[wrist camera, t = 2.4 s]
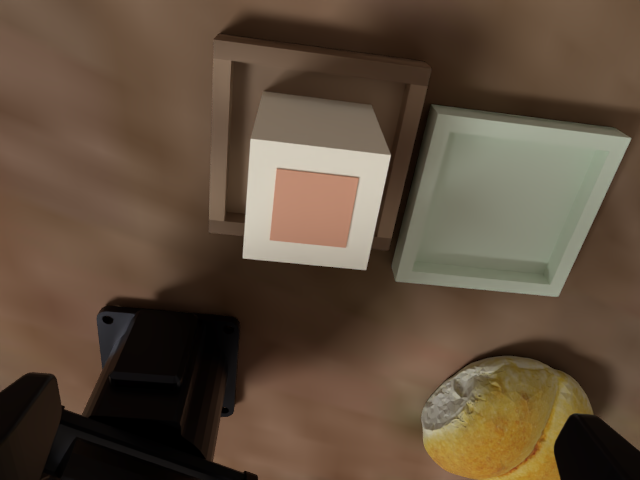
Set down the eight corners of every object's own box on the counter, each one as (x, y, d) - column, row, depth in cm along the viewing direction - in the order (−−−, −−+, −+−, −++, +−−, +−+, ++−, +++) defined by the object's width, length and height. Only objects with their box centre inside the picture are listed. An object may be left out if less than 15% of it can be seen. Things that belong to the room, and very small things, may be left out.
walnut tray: (384, 236, 22) (388, 250, 21) (213, 218, 22) (208, 232, 21) (424, 61, 19) (431, 68, 18) (218, 33, 18) (213, 39, 17)
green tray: (547, 281, 24) (558, 296, 23) (391, 265, 23) (395, 281, 22) (614, 127, 20) (631, 138, 19) (430, 104, 19) (437, 113, 18)
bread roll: (509, 472, 32) (534, 538, 28) (395, 420, 29) (406, 486, 25) (616, 392, 28) (659, 456, 25) (497, 325, 25) (527, 386, 22)
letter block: (354, 201, 21) (367, 271, 17) (255, 190, 21) (242, 259, 16) (372, 105, 19) (392, 156, 15) (262, 91, 19) (250, 139, 14)
